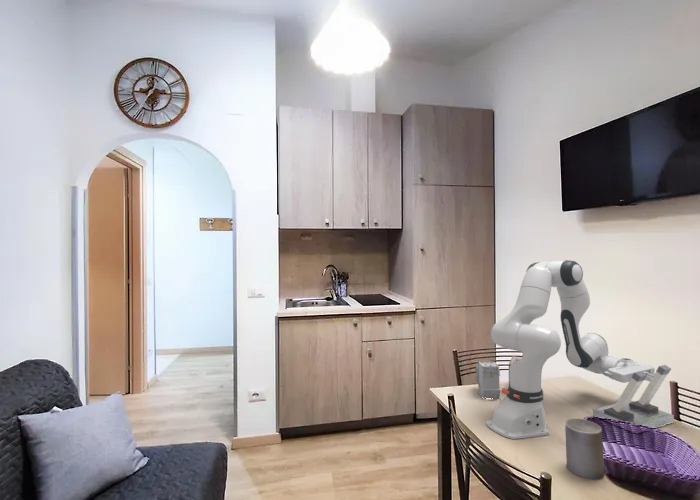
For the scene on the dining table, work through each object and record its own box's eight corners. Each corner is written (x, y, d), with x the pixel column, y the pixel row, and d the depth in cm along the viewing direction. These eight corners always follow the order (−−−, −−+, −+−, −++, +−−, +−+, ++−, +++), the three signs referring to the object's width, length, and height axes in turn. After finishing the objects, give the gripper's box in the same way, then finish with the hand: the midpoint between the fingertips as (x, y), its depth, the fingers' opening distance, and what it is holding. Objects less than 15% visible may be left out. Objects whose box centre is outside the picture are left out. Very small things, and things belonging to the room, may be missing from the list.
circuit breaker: (491, 388, 179) (490, 357, 179) (500, 399, 165) (499, 366, 165) (475, 388, 180) (474, 357, 180) (483, 399, 166) (482, 366, 166)
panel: (636, 434, 131) (636, 421, 132) (593, 416, 146) (592, 404, 146) (673, 422, 139) (673, 410, 140) (628, 406, 154) (628, 395, 154)
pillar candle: (596, 463, 115) (594, 415, 115) (610, 482, 105) (607, 429, 106) (562, 460, 117) (560, 413, 117) (572, 478, 108) (570, 427, 108)
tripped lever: (643, 405, 144) (665, 370, 137) (637, 401, 146) (659, 366, 139) (649, 404, 145) (671, 368, 138) (643, 399, 147) (665, 364, 140)
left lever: (618, 412, 138) (640, 376, 131) (612, 408, 140) (634, 372, 133) (624, 410, 140) (647, 375, 132) (619, 406, 142) (641, 371, 134)
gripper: (599, 364, 151) (636, 374, 138) (631, 357, 159) (668, 366, 146) (600, 379, 151) (637, 391, 138) (631, 372, 159) (669, 382, 146)
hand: (653, 378), depth 142 cm, fingers closed, pressing on tripped lever
